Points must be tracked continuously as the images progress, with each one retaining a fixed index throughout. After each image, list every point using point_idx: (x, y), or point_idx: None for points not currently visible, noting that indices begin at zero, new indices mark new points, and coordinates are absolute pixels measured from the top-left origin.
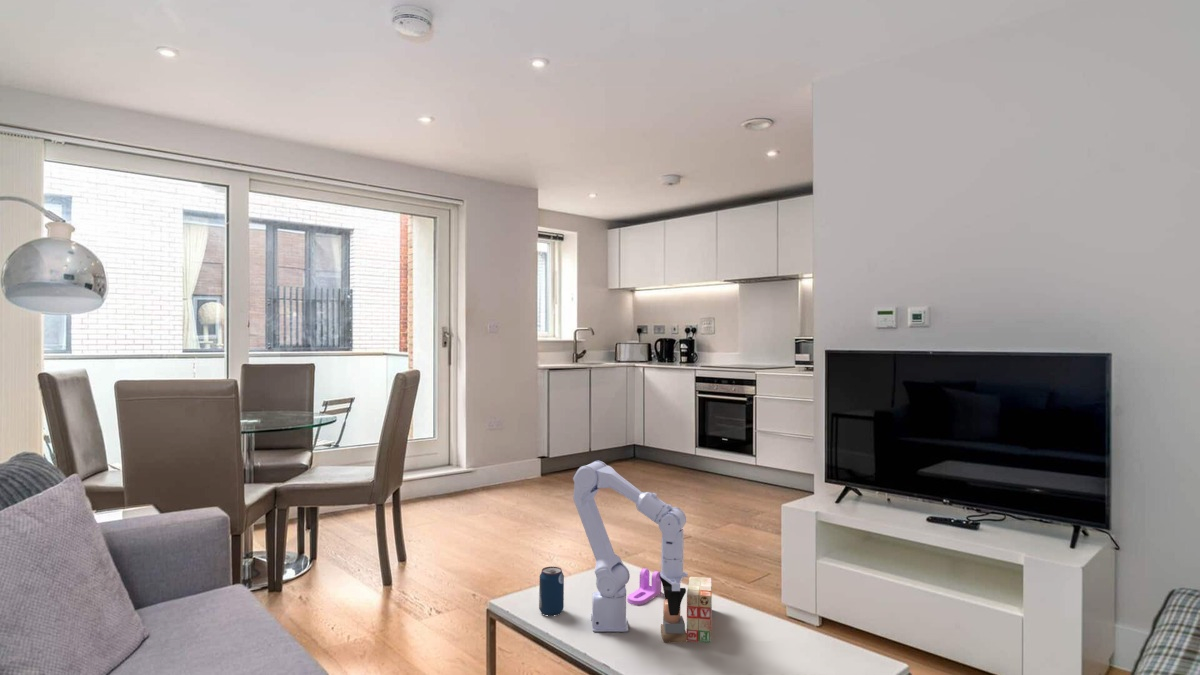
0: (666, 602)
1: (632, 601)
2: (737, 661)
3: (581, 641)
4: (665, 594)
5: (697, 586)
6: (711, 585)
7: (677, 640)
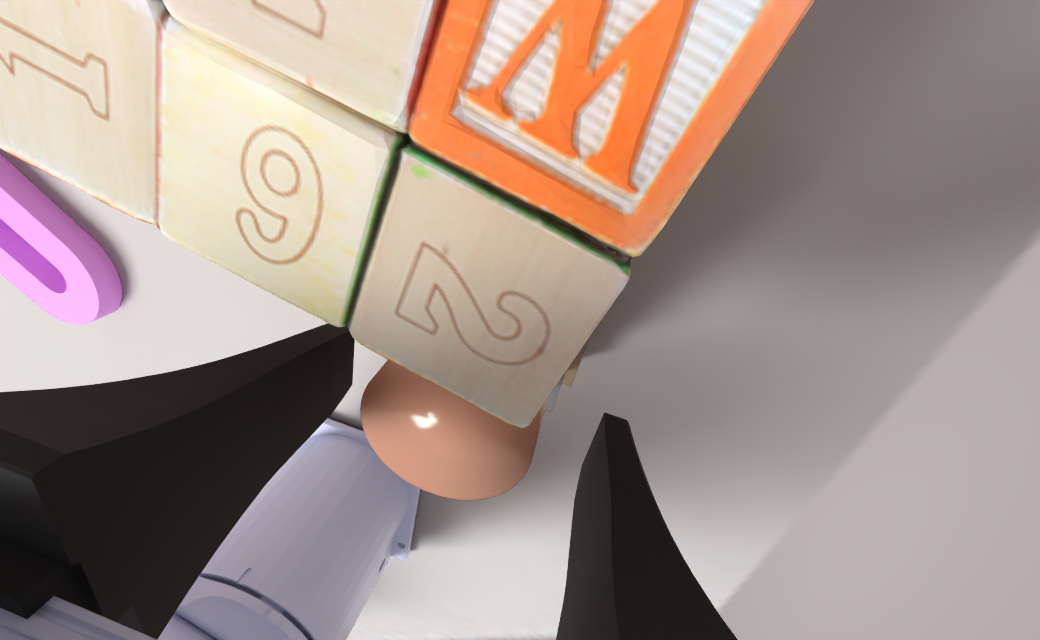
0: (442, 477)
1: (104, 311)
2: None
3: (477, 606)
4: (297, 441)
5: (191, 77)
6: None
7: None
